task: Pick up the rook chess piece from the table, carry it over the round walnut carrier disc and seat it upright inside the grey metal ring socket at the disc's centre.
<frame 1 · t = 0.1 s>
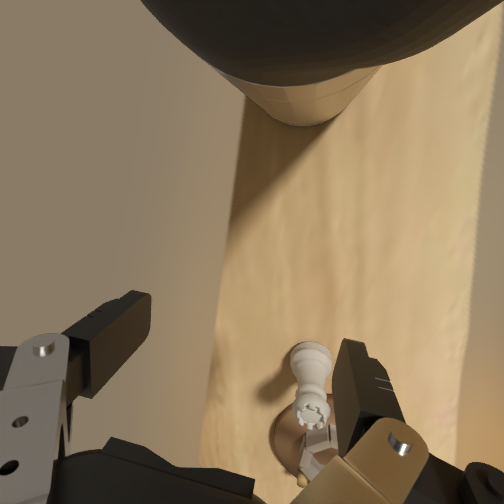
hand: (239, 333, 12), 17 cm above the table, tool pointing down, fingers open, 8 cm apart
carrier disc: (333, 440, 35), on the table
rook chess piece: (310, 355, 32), on the table
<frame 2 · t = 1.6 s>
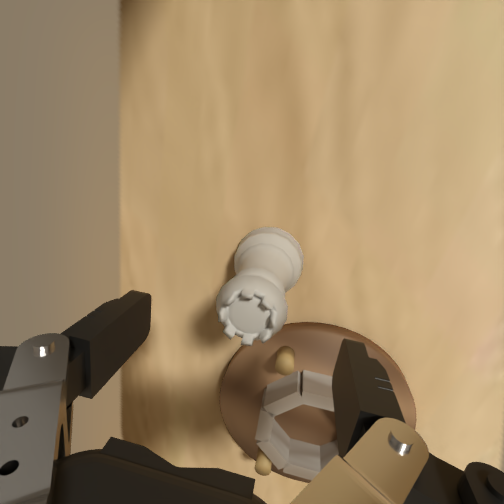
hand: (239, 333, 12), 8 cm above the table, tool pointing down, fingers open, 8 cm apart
carrier disc: (311, 402, 23), on the table
rook chess piece: (270, 256, 20), on the table
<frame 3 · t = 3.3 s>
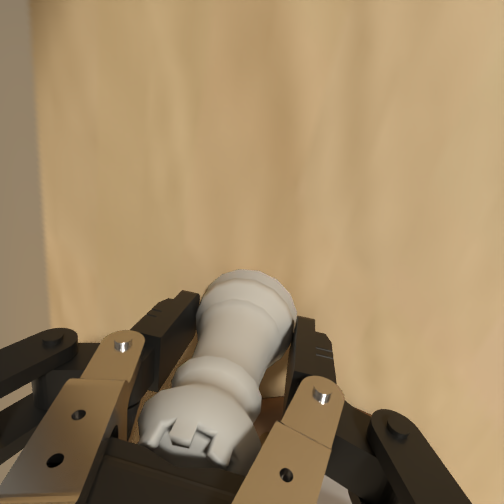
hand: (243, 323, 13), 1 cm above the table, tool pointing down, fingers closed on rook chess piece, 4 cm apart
carrier disc: (307, 497, 17), on the table
rook chess piece: (250, 307, 14), on the table, touching gripper
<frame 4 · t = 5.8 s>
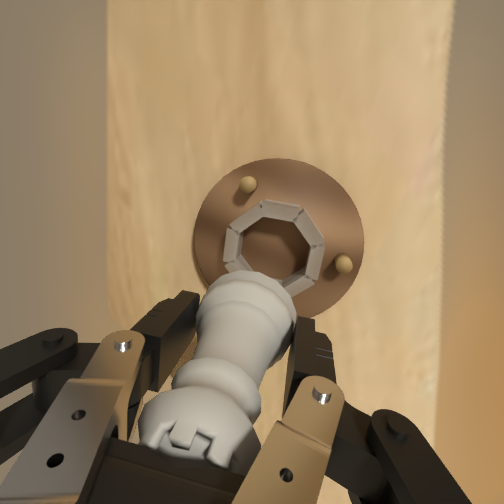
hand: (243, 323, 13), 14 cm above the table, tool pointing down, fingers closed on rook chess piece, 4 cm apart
carrier disc: (276, 243, 26), on the table
rook chess piece: (250, 308, 14), point 12 cm above the table, touching gripper
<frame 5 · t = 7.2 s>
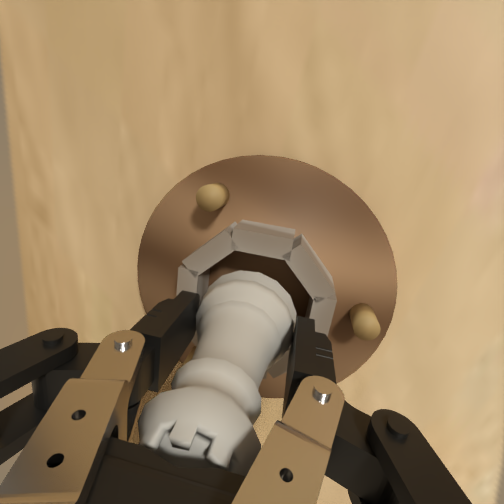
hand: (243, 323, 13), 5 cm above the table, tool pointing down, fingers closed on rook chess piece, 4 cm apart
carrier disc: (260, 283, 17), on the table
rook chess piece: (250, 308, 14), point 3 cm above the table, touching gripper
when the fingers open (4 cm above the table, at t = 8.2 s): rook chess piece drops 1 cm, resting on carrier disc.
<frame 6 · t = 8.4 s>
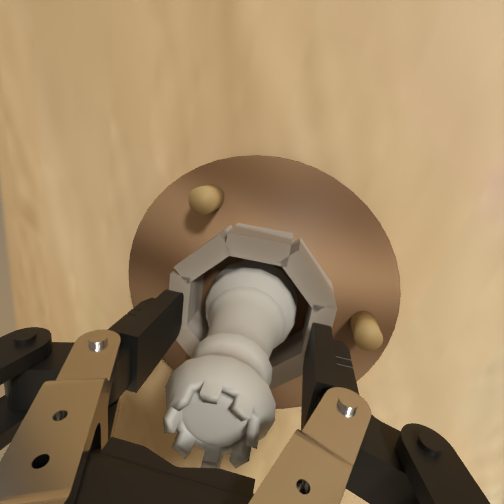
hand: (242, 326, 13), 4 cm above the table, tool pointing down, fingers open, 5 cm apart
carrier disc: (257, 288, 16), on the table
rook chess piece: (254, 296, 15), point 1 cm above the table, touching carrier disc
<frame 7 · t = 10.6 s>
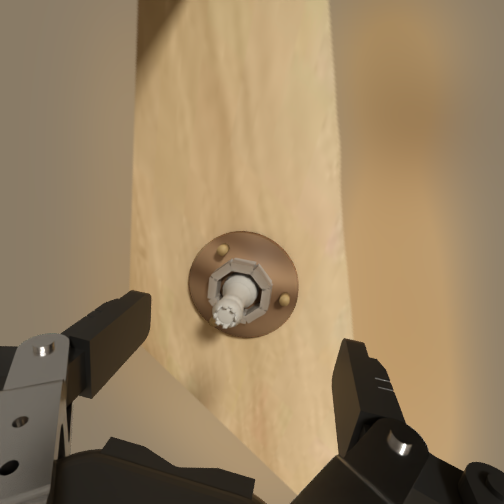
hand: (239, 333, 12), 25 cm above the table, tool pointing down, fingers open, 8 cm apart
carrier disc: (243, 284, 38), on the table
rook chess piece: (242, 286, 37), point 1 cm above the table, touching carrier disc
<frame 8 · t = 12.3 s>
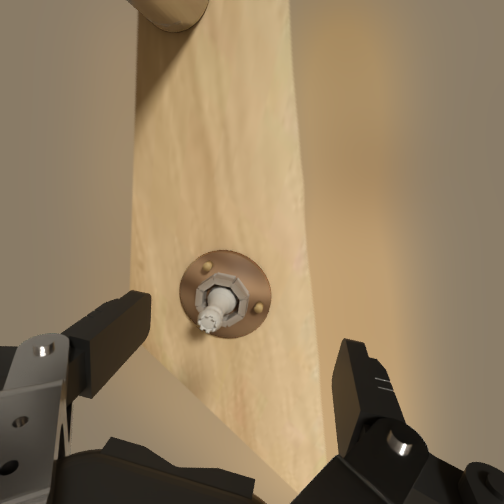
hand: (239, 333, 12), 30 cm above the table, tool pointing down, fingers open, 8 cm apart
carrier disc: (226, 293, 46), on the table
rook chess piece: (224, 296, 45), point 1 cm above the table, touching carrier disc
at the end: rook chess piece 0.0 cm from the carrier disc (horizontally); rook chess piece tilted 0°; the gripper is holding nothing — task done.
